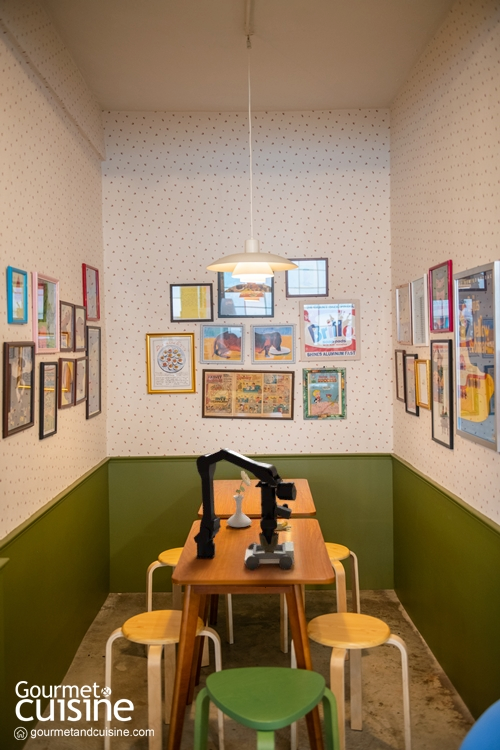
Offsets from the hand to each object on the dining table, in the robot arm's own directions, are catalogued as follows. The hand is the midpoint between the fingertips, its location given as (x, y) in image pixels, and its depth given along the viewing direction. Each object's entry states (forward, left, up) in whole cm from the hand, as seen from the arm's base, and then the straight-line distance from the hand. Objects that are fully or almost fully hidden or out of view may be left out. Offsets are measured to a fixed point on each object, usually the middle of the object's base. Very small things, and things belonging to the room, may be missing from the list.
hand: (269, 540), depth 248 cm
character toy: (+6, +47, -9) cm, 48 cm away
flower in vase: (-14, +54, -8) cm, 57 cm away
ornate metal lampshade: (0, 0, -5) cm, 5 cm away
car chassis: (0, 0, -8) cm, 8 cm away
